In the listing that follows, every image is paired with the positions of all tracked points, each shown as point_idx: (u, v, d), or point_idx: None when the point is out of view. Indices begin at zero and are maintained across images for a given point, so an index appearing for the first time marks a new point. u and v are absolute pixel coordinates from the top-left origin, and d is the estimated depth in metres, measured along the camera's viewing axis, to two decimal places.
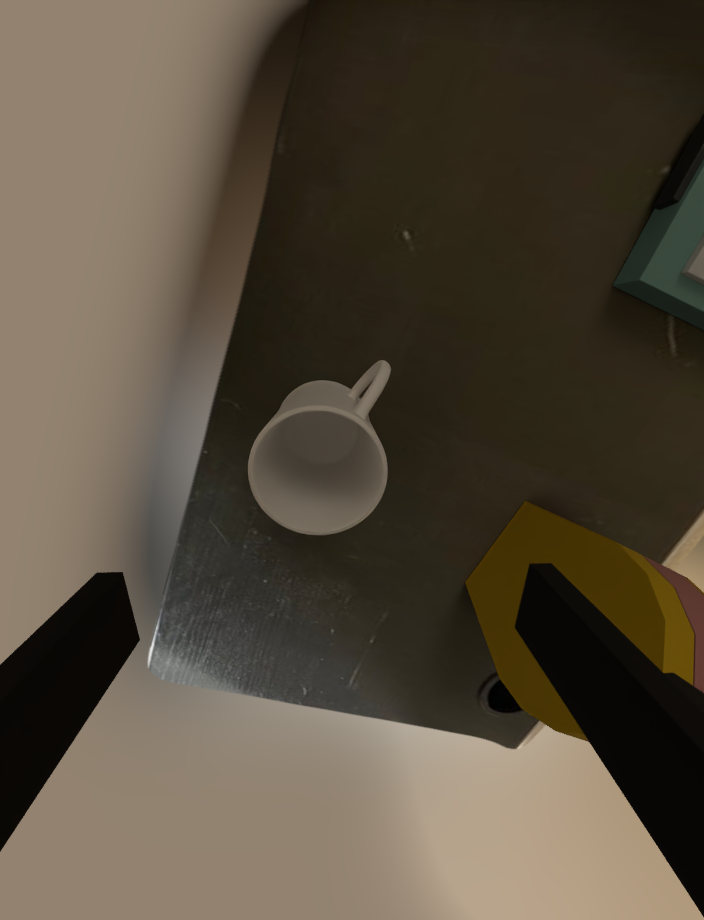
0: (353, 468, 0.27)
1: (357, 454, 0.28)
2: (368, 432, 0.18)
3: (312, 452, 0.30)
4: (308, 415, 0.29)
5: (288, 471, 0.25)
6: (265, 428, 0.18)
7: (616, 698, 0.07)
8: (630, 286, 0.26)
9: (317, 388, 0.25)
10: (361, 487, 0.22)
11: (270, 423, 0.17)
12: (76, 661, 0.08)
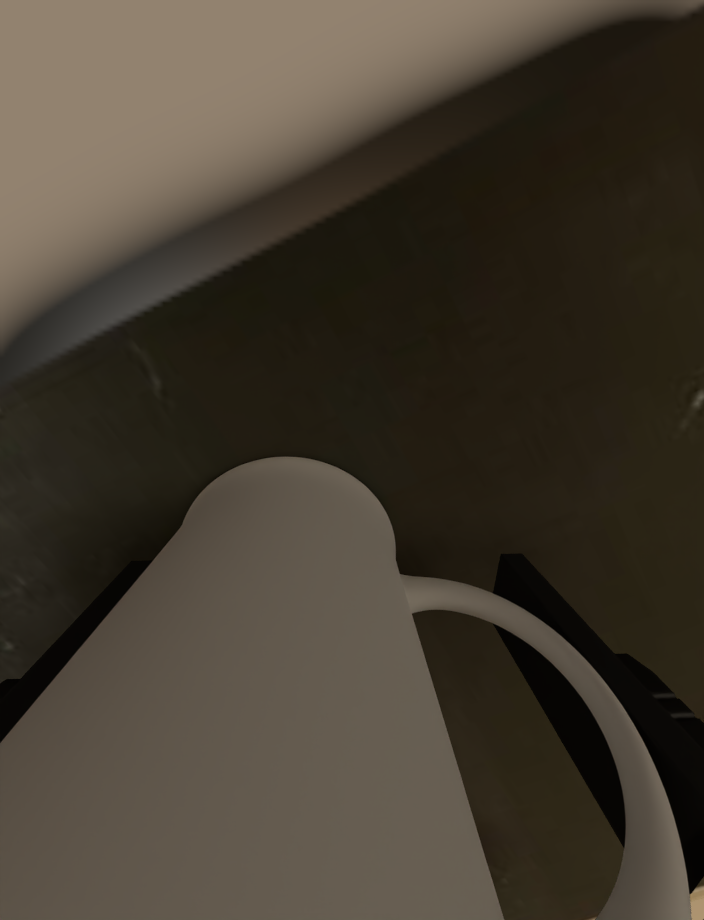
0: None
1: None
2: None
3: None
4: None
5: None
6: None
7: None
8: None
9: (365, 545, 0.09)
10: None
11: None
12: None
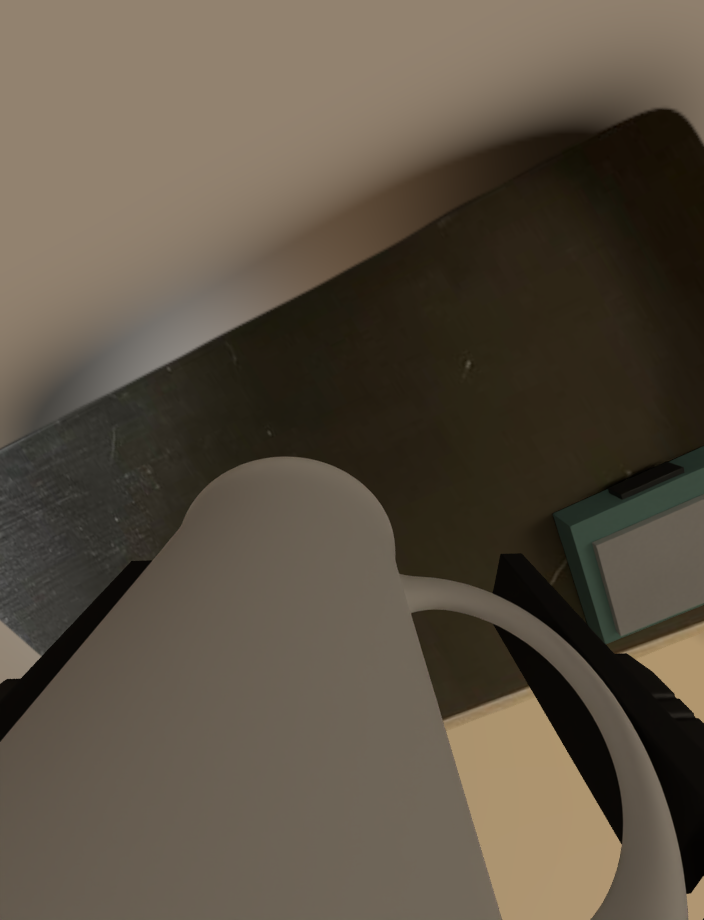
0: None
1: None
2: None
3: None
4: None
5: None
6: None
7: None
8: (561, 524, 0.32)
9: (364, 545, 0.09)
10: None
11: None
12: None
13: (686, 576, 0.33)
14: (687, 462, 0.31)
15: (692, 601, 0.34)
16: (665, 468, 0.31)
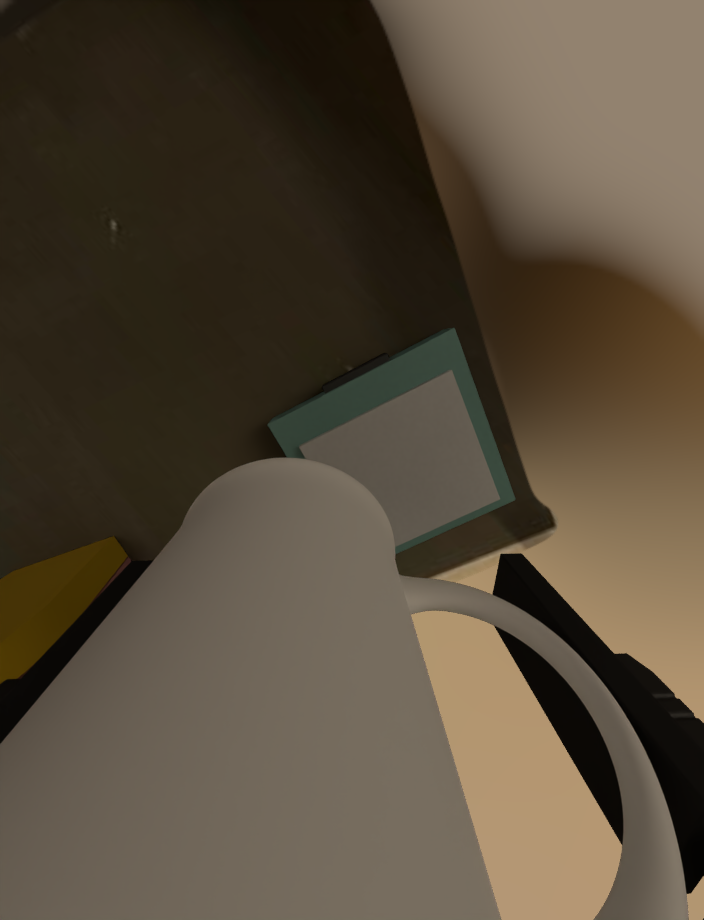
0: None
1: None
2: None
3: None
4: None
5: None
6: None
7: None
8: None
9: (364, 546, 0.09)
10: None
11: None
12: None
13: (420, 488, 0.29)
14: (402, 352, 0.27)
15: (436, 519, 0.30)
16: (375, 358, 0.27)
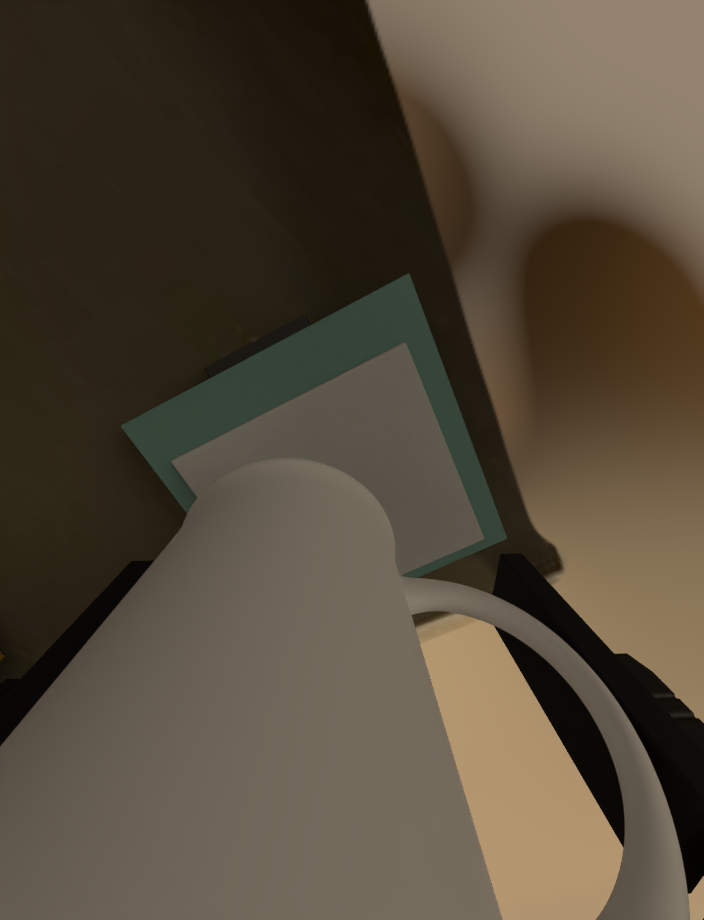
0: None
1: None
2: None
3: None
4: None
5: None
6: None
7: None
8: None
9: (365, 546, 0.09)
10: None
11: None
12: None
13: None
14: None
15: None
16: None
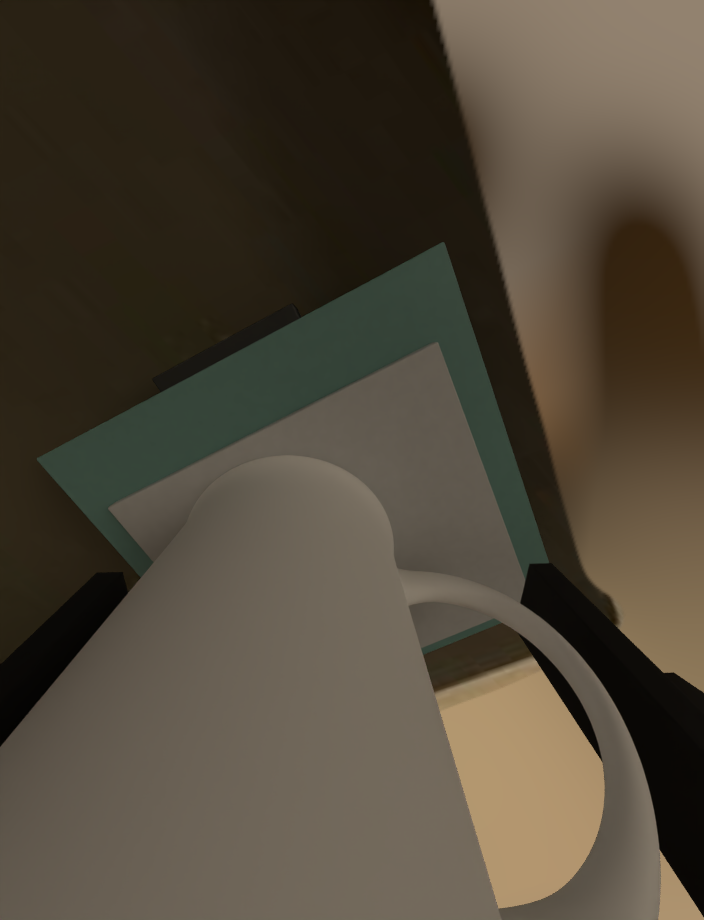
0: None
1: None
2: None
3: None
4: None
5: None
6: None
7: (616, 698, 0.07)
8: None
9: (363, 539, 0.09)
10: None
11: None
12: None
13: None
14: None
15: None
16: None
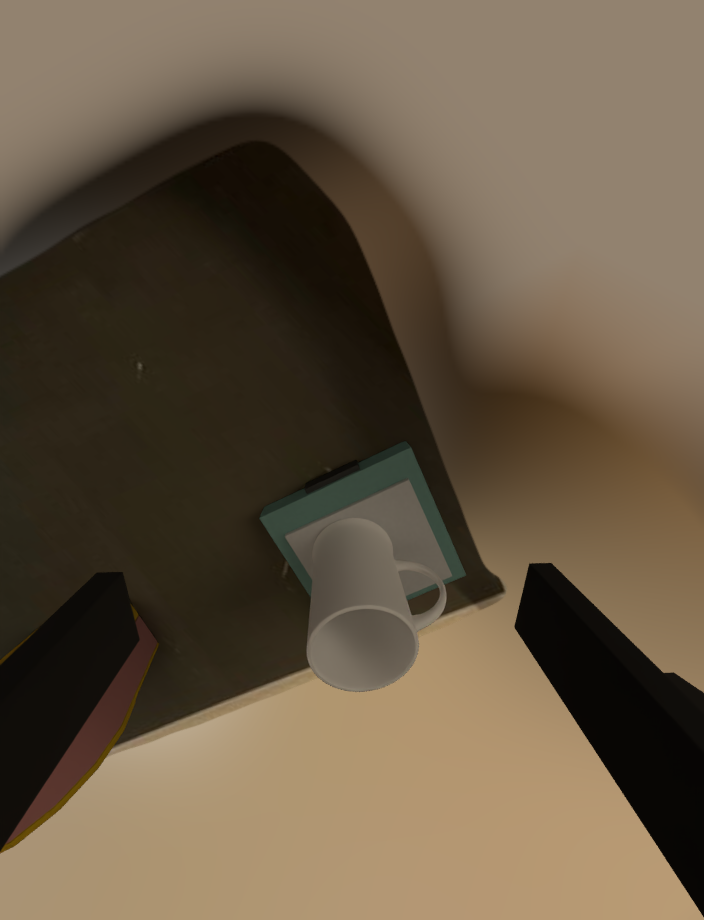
0: (356, 611, 0.31)
1: None
2: (415, 650, 0.23)
3: None
4: None
5: None
6: (363, 606, 0.22)
7: (616, 698, 0.07)
8: None
9: (384, 549, 0.30)
10: (363, 650, 0.27)
11: (369, 605, 0.22)
12: (76, 661, 0.08)
13: None
14: (370, 460, 0.33)
15: None
16: (348, 465, 0.33)
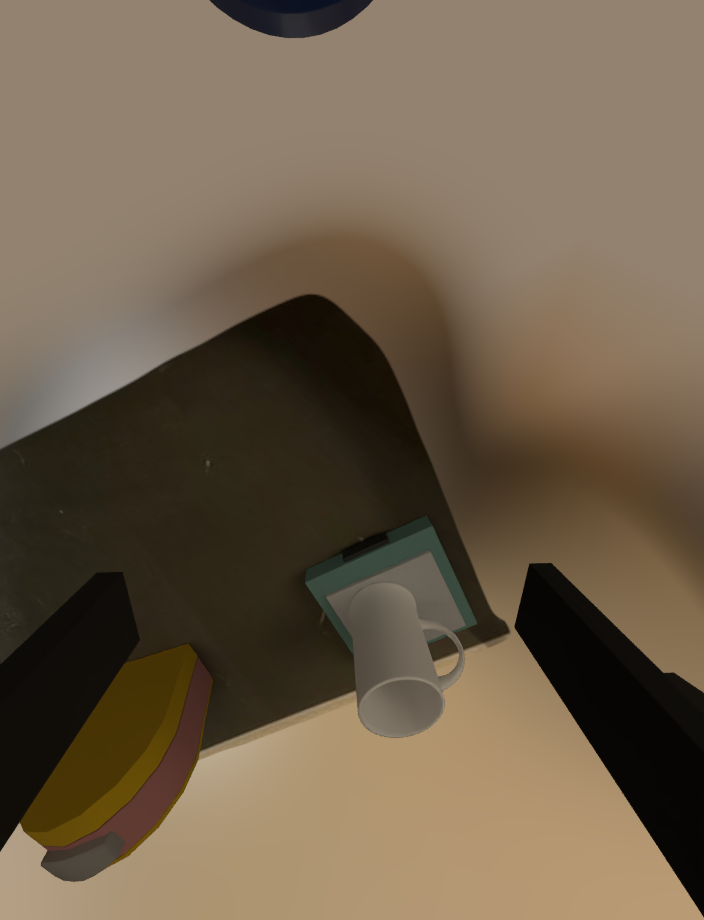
0: None
1: None
2: (442, 708, 0.30)
3: None
4: None
5: None
6: (403, 677, 0.28)
7: (616, 698, 0.07)
8: None
9: (411, 614, 0.36)
10: (397, 700, 0.34)
11: (407, 677, 0.28)
12: (76, 661, 0.08)
13: None
14: (397, 533, 0.40)
15: None
16: (379, 538, 0.40)
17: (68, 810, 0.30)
